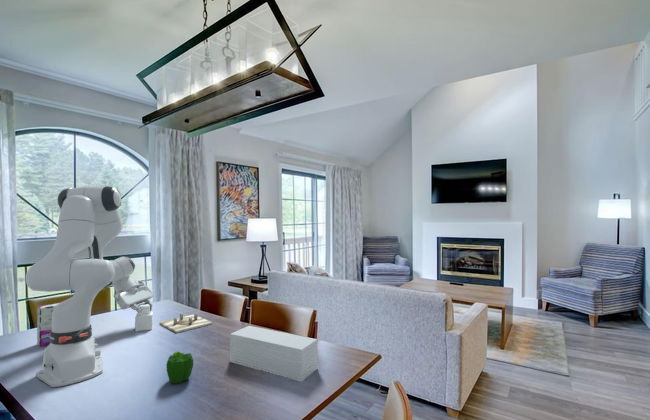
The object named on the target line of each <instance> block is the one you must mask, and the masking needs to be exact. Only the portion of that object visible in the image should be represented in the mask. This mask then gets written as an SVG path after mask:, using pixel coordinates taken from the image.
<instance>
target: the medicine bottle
mask: <svg viewBox="0 0 650 420" xmlns="http://www.w3.org/2000/svg"><path fill="white" fill-rule="evenodd" d="M151 304H152V303H151ZM151 304H149V303H145V302H143V303H140V304H138V305H137V306H138V307H139V308H140V307H141V309H142V311H141V312H139V313H138V312H136V315H135V318H134V319H135V323H134V326H135V327H134V331H135V332H144V331H151V330H153V326H154V311H152V310H153V309H152V308H153V304H152V305H151Z"/></svg>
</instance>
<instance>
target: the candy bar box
mask: <svg viewBox="0 0 650 420" xmlns="http://www.w3.org/2000/svg"><path fill="white" fill-rule="evenodd" d="M59 303H60V302H57V303H56V302H55V303H52V304H46V305H39V306H37V309H36V310H37V311H36V312H37V313H36V314H37V317H36V318H37V324H36V325H37V326H36V331H37V332H36V339H37V340H36V345H37V346H38V347H39V348H40V347H44V346H45V347H46V346H49V344H50V343H51V342H50V338H49V337H50V331H51V330H52V311H53V309H54V308H55V306H56V305H58V304H59Z"/></svg>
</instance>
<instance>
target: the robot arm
mask: <svg viewBox="0 0 650 420" xmlns="http://www.w3.org/2000/svg"><path fill="white" fill-rule="evenodd" d="M121 204H122V196H121V193H120V191H119V189H117V188H116V187H115V186H107V185H105V186H90V185H89V186H77V187H68V188H66V189H63V190H61V191H60V192H59V193H58V195H57V205H58V207H59V208H60V212H59V216H58V221H57V223H58V224H57V230H56V231H57V232H56V235H55V242H54V244H53V246H52V247H51V250H49V252H48V253H47V254H46V255H45V256H44V257H43V258H42V259H40V260H39V261H37V262H36V263H34V264H32V265H31V266H30V267H29V268H28V270H27V272H26V274H25V283H26V286H28V288H29V289H30V290H31V291H34V292H45V293H50V292H51V293H52V292H61V291H62V292H63V291H74V293H73V296H70V297H68V298H66V299H65V300H63V301H61V302H58V303H59V304H58V305H56V306H55V308H54V309H53V311H52V330H51V331H50V337H49V338H50V342H51V343H50V344H49V345H47V347H45V348H44V350H43V360H42V369H41V370H38V371H37V372H36V373H35V377H36V378H37V379H39V380H41V381H42V382H43V383H45V384H46V385H47V386H49V387H51V388H57V387H63V386H68V385H72V384H76V383H79V382H83V381H86V380H88V379H92V378H94V377H97V376H98V375H101V374H102V373H103V362H102V360H103V359H102V356H101V349H100V348H99V349H96V348H98V347H99V345H98V343H96V338H95V337H94V336H92V335H93V333H92V332H93V328H92V324H91V315H92V314H91V313H92V307H93V303H94V301H95V299H96V297H97V295H98V294H99V293H100V292H101V291H102V290H103V289H104V290H105V289H107V288H109V287H111V286H112V287H113V288H114V291H115V292H114V294H113V298H114V300H115V302H116V303H117V305H118V306H119V308H120V309H122V310H127V309H132V310H134V311H135V312H136V313H139V312H141V311H142V309H141V307H140V308H139V307H138V305H140V304H144V303H149V304H151V305H152V306H153V304H152V303H151V300H152V299H153V298H154V295H155V294H154V292H153V291H152V290H151V289H150V288H149V286H147V285H146V282H145V281H143V280H136V279H133V278H132V277H131V275H132V274H133V273H134V271H135V268H136V264H135V262H134V261H133V260H132V259H131V258H130V257H128V256H120V257H118V258H115V259H113V260H111V261H110V260H108V259H104V255H103V253H104V250H105V248H106V246H107V245H108V244H109V243H111V241H113V240H114V239H115V238H116V237H118V236H119V235H120V233H121V232H122V230H123V220H122V216H121V212H120V210H119V208H120V206H121ZM86 249H88V258H82V259H81V258H80V259H73V258H74V257H75V255H76V254H77V253H79V252H81V251H83V250H86Z"/></svg>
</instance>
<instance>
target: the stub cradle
mask: <svg viewBox="0 0 650 420" xmlns="http://www.w3.org/2000/svg"><path fill="white" fill-rule="evenodd" d="M159 324H160V325H161V326H163V327H165V328H166V329H167V330H169V331H172V332H173V333H175V334H179V333H183V332H187V331H190V330H194V329H198V328H201V327H206V326H210V325H212V324H213V323H212V321H210V320H207V319H205V318H203V317H201V316H199V315H198V313H194V314H190V315H185V316H184V313H179V317H174V318H171V319H166V320H161V321H159Z"/></svg>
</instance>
